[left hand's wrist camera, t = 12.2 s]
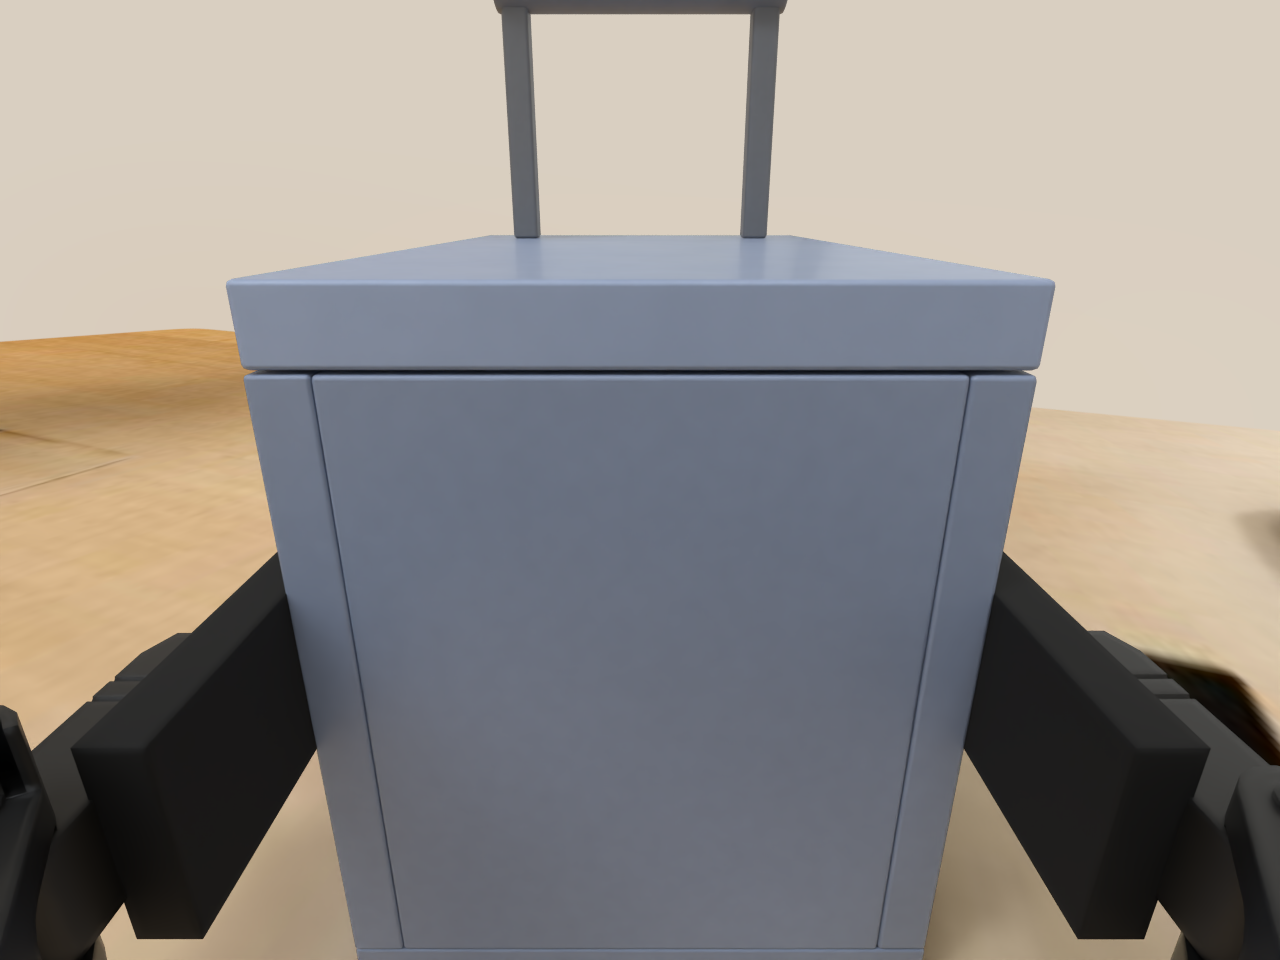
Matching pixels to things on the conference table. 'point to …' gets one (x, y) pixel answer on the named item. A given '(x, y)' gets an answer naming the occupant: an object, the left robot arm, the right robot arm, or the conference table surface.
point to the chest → (640, 648)
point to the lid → (640, 278)
